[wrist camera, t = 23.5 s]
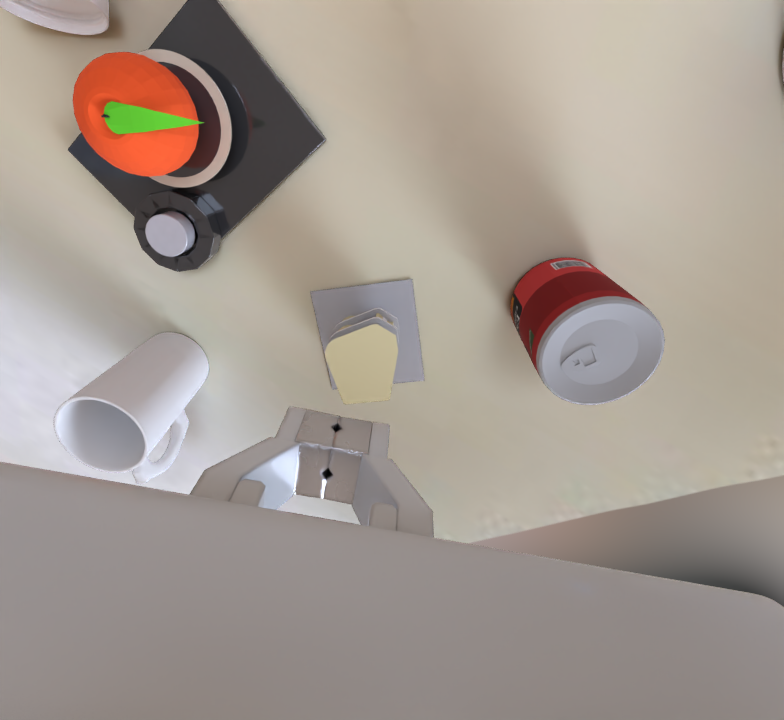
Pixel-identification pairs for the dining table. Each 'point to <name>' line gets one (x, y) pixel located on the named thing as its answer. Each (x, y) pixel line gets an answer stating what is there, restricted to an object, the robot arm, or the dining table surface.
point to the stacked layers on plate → (369, 338)
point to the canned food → (585, 332)
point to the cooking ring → (209, 110)
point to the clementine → (135, 114)
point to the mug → (134, 408)
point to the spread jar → (63, 14)
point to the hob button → (170, 233)
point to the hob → (248, 146)
